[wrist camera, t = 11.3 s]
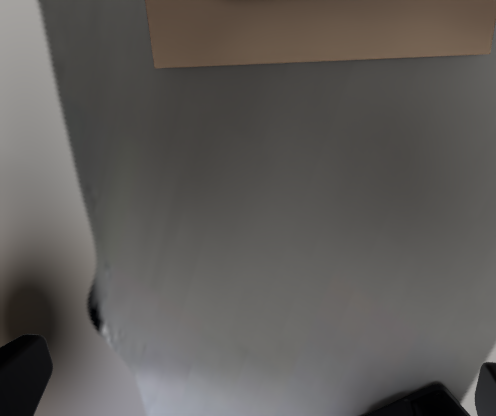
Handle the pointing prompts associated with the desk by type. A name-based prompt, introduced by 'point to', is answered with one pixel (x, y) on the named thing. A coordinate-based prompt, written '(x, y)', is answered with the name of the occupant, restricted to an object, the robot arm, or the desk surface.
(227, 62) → the socket holder
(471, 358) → the desk surface
